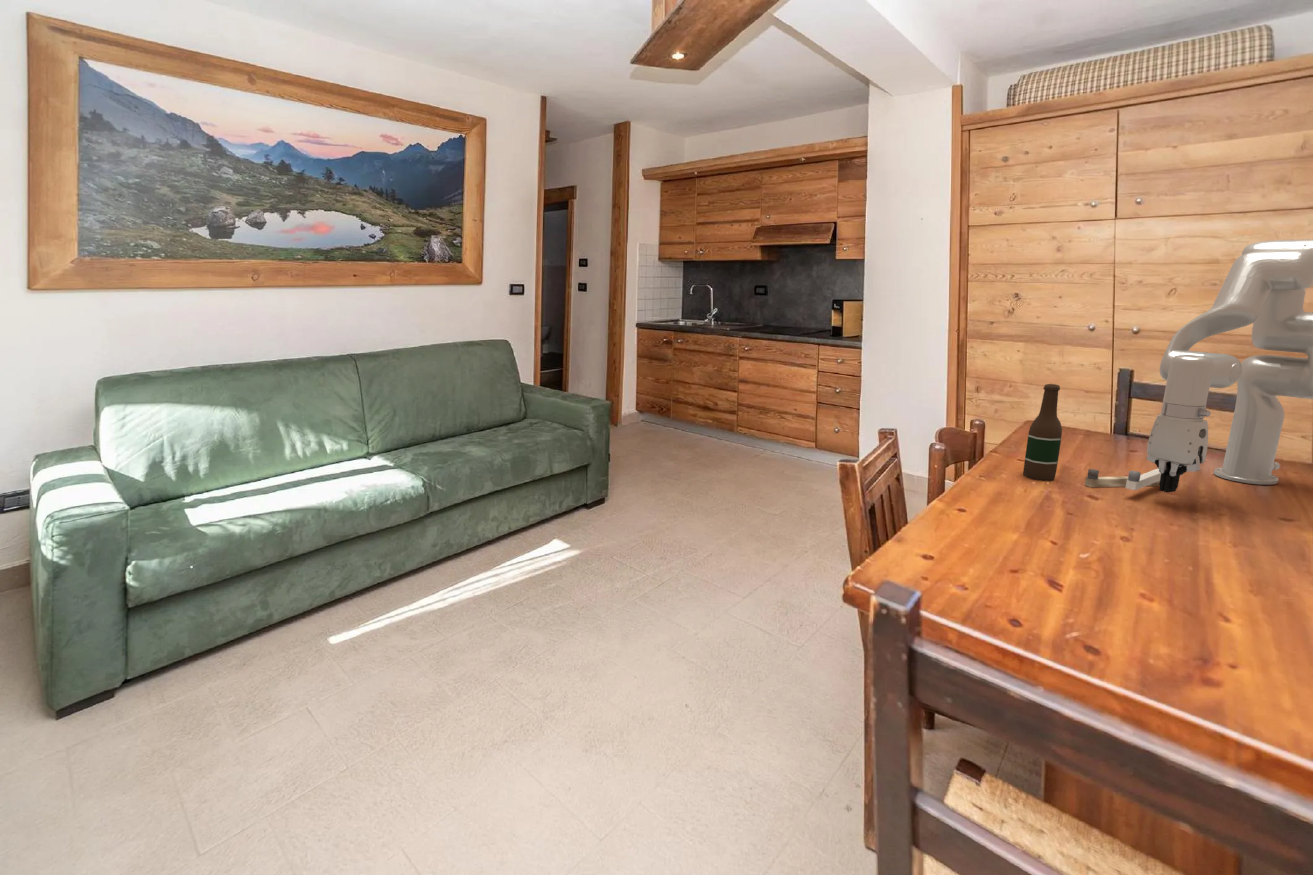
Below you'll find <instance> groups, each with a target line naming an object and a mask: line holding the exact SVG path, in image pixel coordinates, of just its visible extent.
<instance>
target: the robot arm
mask: <svg viewBox="0 0 1313 875" xmlns="http://www.w3.org/2000/svg"><path fill="white" fill-rule="evenodd" d="M1241 252H1242V253H1241V255H1240V256H1238V257H1237V258H1236V259H1235V261H1234V262H1233V263H1232V265H1231V267H1230V269H1229V271H1228V273H1227V275H1226V278H1225V279H1224V281H1223V283H1222V286H1221V288H1220V290H1219V291H1218V294H1217V296H1216V298H1215V300H1214V302H1213V304H1212V306H1211V308H1210V309H1208V310H1207V311H1205V312H1203V313H1201V314H1200V315H1198V316H1196V317H1195V318H1193V319H1191V320H1190V321H1189V322H1187V323H1186V324H1185V325H1183V326H1182V327H1181V328H1179V329H1178V330H1177V331H1176V332H1175V333H1174V334H1173V336H1172V338H1171V339H1170V341H1169V343H1168V345H1167V347H1166V349H1165V351H1164V353H1163V355H1162V358H1161V360H1160V364H1159V373H1160V374H1159V375H1160V377H1161V378H1162V379H1163V380H1164V381H1165V382H1166V384H1165V389H1164V395H1163V399H1162V400H1163V401H1162V405H1161V411H1160V414H1157V416H1156V418H1155V420H1154V422H1153V425H1152V428H1151V431H1150V433H1149V434H1150V435H1149V437H1148V441H1147V447H1146V448H1147V449H1146V453H1147V456H1146V460H1147V461H1149V462H1151V463H1152V464H1155V465H1156V467H1157V469H1158V468H1159V472H1160V473H1161V477H1160V483H1159V491H1160V492H1164V493H1167V494H1168V493H1175V492H1176V491H1177V489H1178V487H1179V482H1180V477H1181V476H1182V475H1184V474H1185V473H1187V472H1194V473H1195V472H1199V471H1200V470H1201V464H1204V463H1205V462H1206V458H1207V453H1208V444H1209V424H1208V422H1209V421H1208V420H1206V419H1204V418H1205V417H1207V418H1209V417H1210V416H1211V414H1212V412H1211V410H1207V401H1208V397H1209V391H1210V388H1213V389H1226V388H1229V387H1230V386H1232V385H1234V384H1236V383H1237V384H1236V385H1237V388H1236V389H1237V392H1236V400H1235V406H1234V411H1233V416H1232V417H1233V418H1232V420H1231V424H1230V425H1231V426H1230V431H1229V434H1228V435H1229V436H1228V440H1227V445H1226V448H1225V449H1226V450H1225V455H1224V458H1223V459H1224V460H1223V464H1222V466H1221V467H1217V468H1214V470H1213V474H1214V475H1215V476H1217V477H1219V478H1222V479H1224V480H1227V481H1233V482H1238V483H1242V484H1243V483H1244V484H1251V485H1261V486H1265V485H1266V486H1267V485H1268V486H1269V485H1271V486H1272V485H1277V484H1278V483H1279V477H1278V476H1276V475H1273V474H1272V473H1273V471H1274V470H1279V469H1280V468H1281V465H1280V463H1279V462H1277V461H1275V459H1276V455H1277V451H1278V447H1279V442H1280V437H1281V433H1282V428H1283V424H1284V419H1285V409H1284V406H1283V405H1282V403H1281V402H1280V400H1279V399H1278V397H1289V398H1298V399H1306V400H1313V312H1311V311H1310V312H1309V311H1305V310H1304V303H1305V297H1306V289H1309V288H1312V287H1313V238H1310V239H1309V238H1308V239H1307V238H1306V239H1304V238H1303V239H1274V240H1262V241H1257V242H1252V243H1249V244H1248V245H1246V247H1244V248H1243V250H1242V251H1241ZM1251 324H1252V330H1251V343H1252V345H1253V347H1255V348H1258V349H1261V350H1267V351H1273V352H1289V353H1301V354H1305V355H1306V356H1307V358H1306V357H1295V356H1286V355H1273V354H1258V355H1252V356H1248V357H1246V358H1245V359H1243V360H1242V361H1240V360H1239V359H1238V358H1237V357H1235V356H1234V355H1231V354H1226V353H1215V352H1207V351H1205V352H1204V351H1197V350H1196V351H1194V350H1191V348H1192V347H1193V346H1195V345H1196V344H1197V343H1199V342H1200V341H1202V340H1204V339H1206V338H1209V337H1212V336H1215V335H1218V334H1223V333H1226V332H1230V331H1235V330H1236V329H1241V328H1243V327H1247V326H1249V325H1251ZM1277 396H1278V397H1277Z"/></svg>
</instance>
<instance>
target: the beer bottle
mask: <svg viewBox="0 0 1313 875" xmlns="http://www.w3.org/2000/svg"><path fill="white" fill-rule="evenodd" d="M1043 390H1044V391H1043V394H1042V400H1041V407H1040V410H1039V414H1038V416H1036V417H1035V418H1034V419H1033V421H1032V423H1031V425H1030V427H1029V431H1028V433H1027V434H1028V435H1027V440H1026V442H1027V443H1026V450H1025V457H1024V463H1023V469H1022V470H1023V477H1025V478H1027V479H1030V480H1034V481H1035V480H1036V481H1043V482H1049V481H1054V480H1055V478H1056V476H1057V475H1056V474H1057V470H1058V464H1059V463H1058V462H1059V457H1060V449H1061V442H1062V437H1063V427H1062V424H1061V421H1060V419H1059V418H1058V402H1059V391H1060V390H1061V386H1060V385H1059V384H1056V383H1055V384H1053V383H1046V384H1044V386H1043Z"/></svg>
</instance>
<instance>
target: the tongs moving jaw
mask: <svg viewBox="0 0 1313 875" xmlns="http://www.w3.org/2000/svg"><path fill="white" fill-rule="evenodd" d="M1141 473H1142V472H1140V471H1136V470H1129V472H1128V480H1127V482H1126V487H1125V489H1126V490H1127V489H1128V490H1131V491H1137V490H1140V489H1142V488H1145V487H1149V486H1148V485H1150V484H1153V483H1155V482H1158V481H1160V477H1161V473H1160V472H1159V468H1158V467H1157V468H1155V469H1152V470H1150V471H1148V472H1145V473H1142V474H1141Z"/></svg>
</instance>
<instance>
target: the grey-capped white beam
mask: <svg viewBox="0 0 1313 875" xmlns="http://www.w3.org/2000/svg"><path fill="white" fill-rule="evenodd" d="M1099 473H1100V471H1099V470H1098V469H1094V468H1088V472H1087V476H1085V478H1084V479H1085V480H1084V486H1087V487H1089V488H1116V487H1117V488H1118V487H1119V488H1120V487H1121V488H1122V487H1123V488H1126V482H1127V480H1128V476H1129V475H1128V476H1123V475H1122V476H1099ZM1159 483H1160V481H1158V482H1155V483H1153V484H1150V485H1148V486H1147V487H1160V485H1159Z"/></svg>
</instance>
